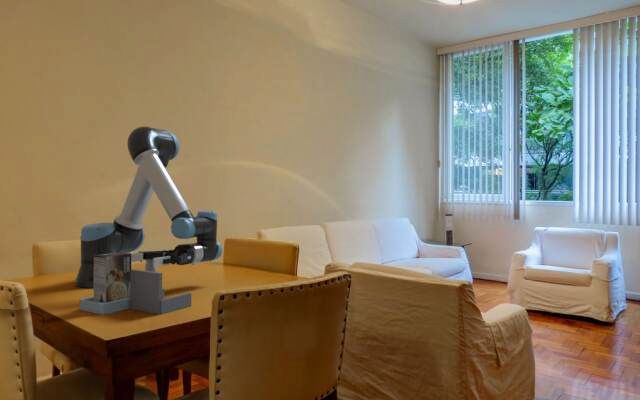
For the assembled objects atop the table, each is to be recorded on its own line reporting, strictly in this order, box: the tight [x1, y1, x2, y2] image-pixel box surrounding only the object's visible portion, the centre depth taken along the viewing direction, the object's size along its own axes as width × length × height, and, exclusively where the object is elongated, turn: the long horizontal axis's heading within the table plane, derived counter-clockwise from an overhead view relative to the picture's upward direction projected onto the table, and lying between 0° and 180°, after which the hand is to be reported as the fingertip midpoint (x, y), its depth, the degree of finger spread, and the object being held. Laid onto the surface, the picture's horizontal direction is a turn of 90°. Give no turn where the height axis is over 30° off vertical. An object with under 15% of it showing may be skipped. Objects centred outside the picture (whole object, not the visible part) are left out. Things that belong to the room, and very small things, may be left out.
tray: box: [79, 296, 130, 316], centre depth 144 cm, size 11×14×3 cm
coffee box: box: [93, 252, 132, 303], centre depth 144 cm, size 9×6×16 cm
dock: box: [129, 268, 192, 315], centre depth 145 cm, size 13×13×12 cm
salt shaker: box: [144, 259, 158, 272], centre depth 172 cm, size 6×6×13 cm
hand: (139, 260), depth 154 cm, fingers open, 13 cm apart
